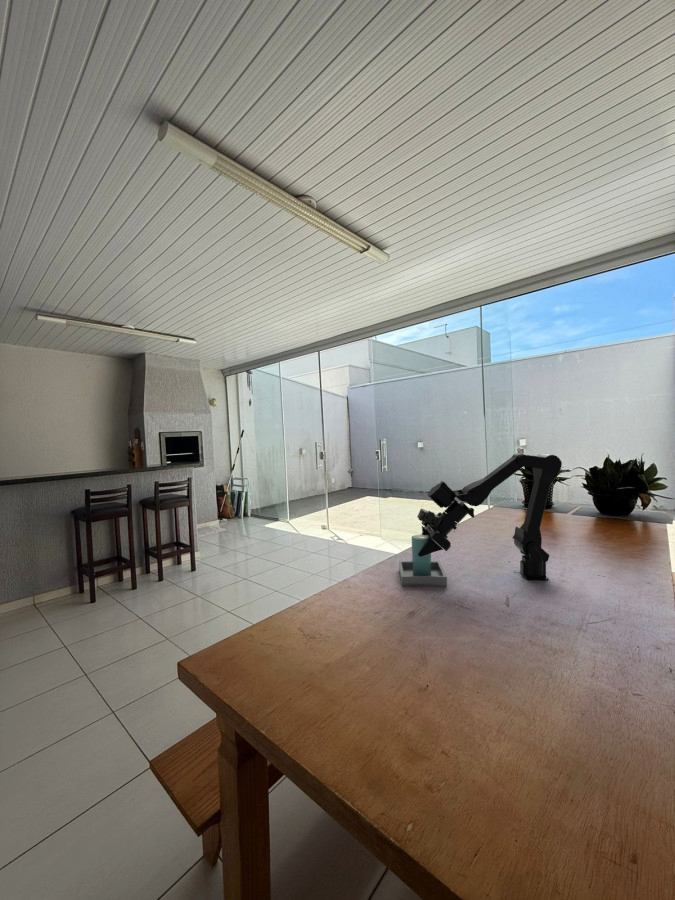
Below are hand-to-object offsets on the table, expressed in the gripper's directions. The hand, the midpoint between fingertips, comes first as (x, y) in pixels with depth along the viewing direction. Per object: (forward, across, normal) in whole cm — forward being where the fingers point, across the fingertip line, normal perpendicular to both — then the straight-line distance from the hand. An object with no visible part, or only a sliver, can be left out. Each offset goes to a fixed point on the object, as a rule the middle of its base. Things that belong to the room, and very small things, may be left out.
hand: (417, 552), depth 125 cm
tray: (+5, 0, +7) cm, 8 cm away
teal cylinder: (+4, 0, +6) cm, 8 cm away
